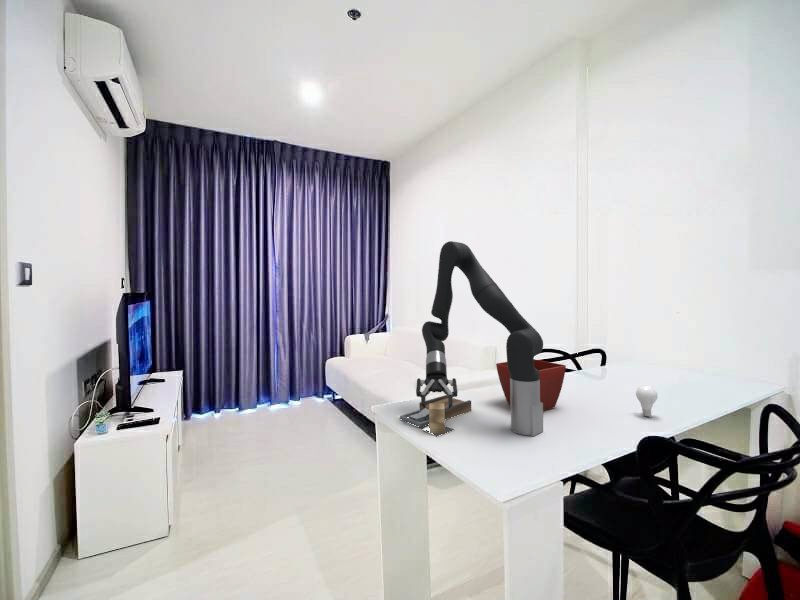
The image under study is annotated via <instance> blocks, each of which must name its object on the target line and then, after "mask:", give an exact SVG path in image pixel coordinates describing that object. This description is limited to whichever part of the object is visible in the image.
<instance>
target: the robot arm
mask: <svg viewBox="0 0 800 600" xmlns="http://www.w3.org/2000/svg"><path fill="white" fill-rule="evenodd" d="M438 259H439V260H438V261H439V262H438V270H437V271H438V272H437V281H436V290H435V295H434V298H433V303H432V306H431V311H430V313H431V316H433V317H434V318H436V319H438V320H441V321H440V322H435V321H429V320H428V321H425V322H424V323H423V325H422V327H421V334H422V338H423V340H424V344H425V346H426V347H425V348H426V358H425V379H421V378H417V380H416V390H415V393H416V397H418V398H419V397H420V400H421V405H422V406H423V408H426V401H427V400H426V397H427V396H428V395H429V394H430V393H431V392H432V393H442V392H443V393H444V395H447V396H448V404H449V408H451V406H453V399H452V398H455V397H456V398H457V397H458V385H457V378H454V377H453V378H452V379H448V376H447V375H448V374H447V373H448V371H447V367H448V366H447V365H448V364H447V359H446V358H447V357H446V346H445V343H444V341H446V340H447V339H448V337H449V318H450V317H449V316H450V312H451V308H452V303H453V300H454V298H453V297H454V293H453V286H452V277H453V272H454V269H455V268H458V269H459V270H460V271H461V272H462V273H463V274H464V276H465V277H466V278H467V280H468V283H469V288H470V291H471V294H472V296H473V298H474V300H476V301H475V302H476V303H477V304H478V305H479V307H480V308H481V309H482V310H483V311H484V312H485V313H486V314H488V315H489V316H490V317H491V318H493V319H494V320H496V321H497V322H498V323H499V324H502V325H503V326H504V328H505V329H506V330H507V331H508V333H509V336H507V339H506V343H505V344H506V347H505V349H506V362H507V366H508V370H509V372H510V398H511V406H510V430H511V431H512V432H514V433H515V434H519V435H523V436H531V437H535V436H537V435H539V434H541V433H543V432H544V410H543V403H542V402H540V373H539V371H538V370H537V369H535V367H534V359H535V358H534V357H535V356H537V355H540V354H541V352H542V351H543V349H544V340H543V338H542V336H541V335H540V333H539V332H538V331H537V330H536V329H535V328H534V327H533V326H532V324H530V323H529V321H527V319H525V318H524V317H523V315H522V314H521V313H520V312H519V311H518V309H517V308H516V307H515V305H513V303H512V302H511V301H510V299H508V297H507V296H506V294H505V293H504V292H503V290H502V289H501V288H500V286H499V285H498V284H497V283H496V282H495V281H494V280H493V278H492V277H491V276H490V274H489V273H488V272H487V271H486V270H485V269H484V268H483V266H482V265H481V264H480V262H479V261H478V259H477V258H476V256H475V254H474V252H473V251H472V249H471V248H470V247H469V246H468V245H467V244H465V243H463V242H457V241H453V240H451V241H450V240H449V241H446V242H445V243H443V245H442V246H441V249H440V252H439V257H438ZM424 385H425V387H424V389H423V390H422V391H421V388H422V387H423V386H424ZM448 385H450V386H451V387H452V390H453V391H452V390H450V388H449V387H448Z"/></svg>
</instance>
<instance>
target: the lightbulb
mask: <svg viewBox="0 0 800 600" xmlns="http://www.w3.org/2000/svg"><path fill="white" fill-rule="evenodd" d="M635 396H636V398H637V400H638V401H639V403H640V406H641V409H642V410H641V411H642V412H641V413H642V415H643V416H644V417H646V418H648V417H651V416H652V409H653V405H654V404H655V403H656V401H657V400H658V392H657V391H656V389H655V388H653V387H651V386H650V385H641V386H639V387H638V388H637V389H636V391H635Z"/></svg>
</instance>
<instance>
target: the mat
mask: <svg viewBox="0 0 800 600" xmlns="http://www.w3.org/2000/svg"><path fill="white" fill-rule="evenodd" d="M445 426H446V427H445V433H446V434H448V433H450V432H449V431H451V432H453V431H452V430H454V431H455V428H452V427H449V426H447V425H445ZM426 431H427V430H426ZM427 432H429V431H427ZM427 432H426V433H427ZM447 432H448V433H447ZM433 434H434V435H436V436H435V437H437V436H438V437H440V436H439V435H441V434H442V433H433ZM434 435H433V436H434ZM441 436H442V435H441Z"/></svg>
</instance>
